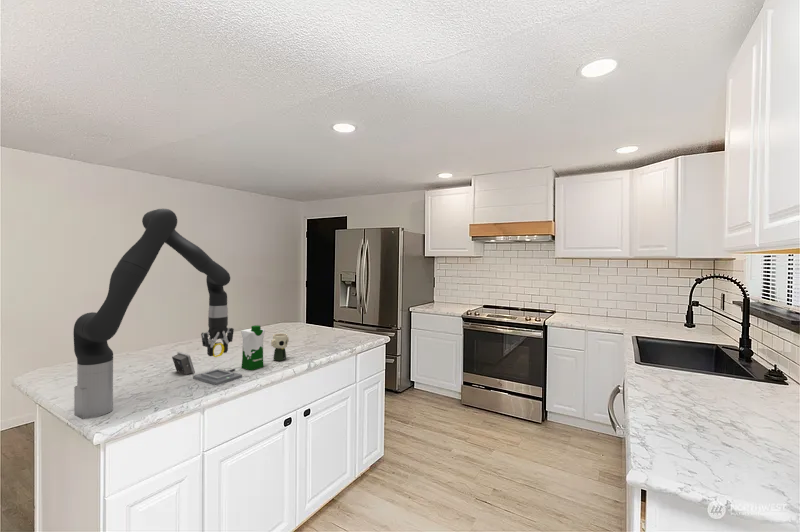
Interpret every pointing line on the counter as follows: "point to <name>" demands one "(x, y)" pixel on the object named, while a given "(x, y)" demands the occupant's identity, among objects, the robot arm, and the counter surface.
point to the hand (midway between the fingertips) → (217, 354)
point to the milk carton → (252, 348)
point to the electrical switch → (183, 363)
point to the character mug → (280, 345)
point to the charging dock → (217, 376)
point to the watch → (221, 350)
